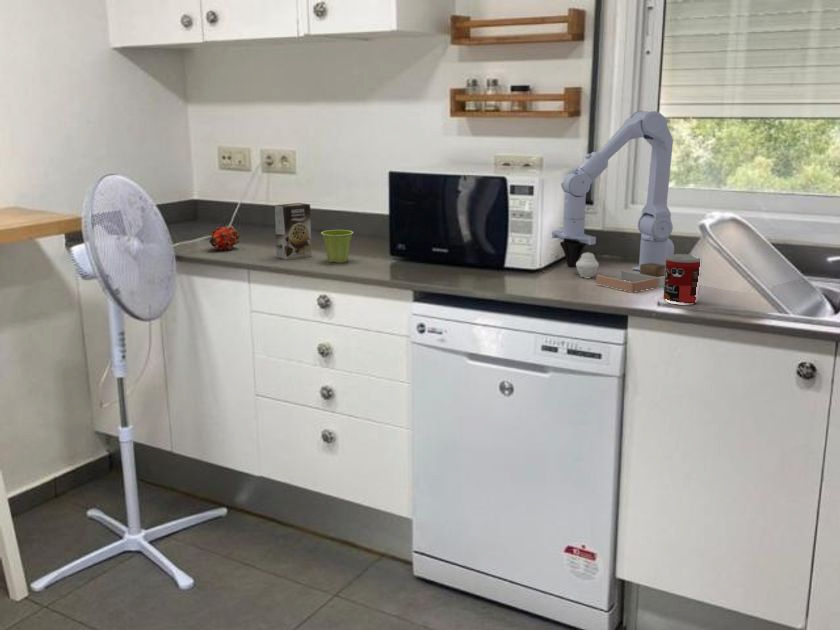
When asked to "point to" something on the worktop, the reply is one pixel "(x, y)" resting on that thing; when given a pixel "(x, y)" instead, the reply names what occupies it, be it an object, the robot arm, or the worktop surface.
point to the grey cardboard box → (293, 230)
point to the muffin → (587, 265)
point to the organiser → (632, 281)
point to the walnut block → (652, 269)
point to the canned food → (681, 278)
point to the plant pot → (337, 244)
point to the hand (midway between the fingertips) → (572, 267)
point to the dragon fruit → (224, 238)
